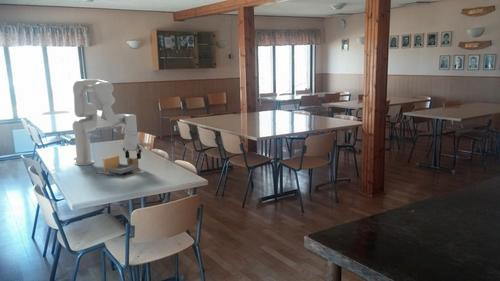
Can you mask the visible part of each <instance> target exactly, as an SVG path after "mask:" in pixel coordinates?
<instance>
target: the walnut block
mask: <svg viewBox="0 0 500 281" xmlns="http://www.w3.org/2000/svg"><path fill="white" fill-rule="evenodd" d="M126 162H127V163H126V164H127V165H135V169H134V170H136V169H139V159H137V157H135V156H134V157H133V156H132V157H129V158H126Z"/></svg>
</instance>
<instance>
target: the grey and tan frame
mask: <svg viewBox="0 0 500 281" xmlns="http://www.w3.org/2000/svg"><path fill="white" fill-rule="evenodd" d="M102 163H103V172H105V173H113V174H120V175H124V173H128V171H132V172H133V170H136V169H135V165H127V163H126V164H125V163H120V155H118V154H117V155H114V156H109V157H105V158H103V162H102Z"/></svg>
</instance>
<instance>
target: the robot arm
mask: <svg viewBox="0 0 500 281" xmlns="http://www.w3.org/2000/svg"><path fill="white" fill-rule="evenodd" d="M114 91H115V90H114V86H113V84H112V82H110V81H105V80H101V79H97V78H83V79H79V80H76V81H75V82H74V84H73V86H72V92H73V98H74V99H73V101H74V102H73V103H74V115H75V116H76V117H77V118H79V119H76V120H74V121H73V123H72V129H73V130H72V131H73V133H74V142H75V152H76V154H75V155H76V156H75V157H74V158H73V160H74V161H75V162H74V165H76V166H86V165H87V166H88V165H89V166H90V165H93V164H94V163H95V161H94V160H93V159H92V151H91V149H92V148H91V139H90V135H89V134H88V132H92V131H95V130H96V129H97V127H98V110H97V106H96V105H95V103H92V102H88V95H87V93H88V92H89V93H91V92H94V93H95V95H96V96H97V98H98V99H99V101H100V103H101V104H102V106H103V108H102V109H103V115H104V117H105V119H106V120H107V122H108V123H109V125H110V126H112V127H120V126H124V129H125V130H124V134H125V135H124V138H123V144H122V145H121V148H122V151H123V152H124V155H125V159H128V158H130V151H132V152H134V151H135V152H136V158H137V159H138V160H141V159H142V155H141V154H142V151H143V150H144V146H143V145H141V144H140V137H139V134H138V126H137V125H138V124H137V116H136V114H132V113H131V114H127V113H118V114H116V113H115V112H114V111H113V109H112V105H114V103H115V102H116V99H115V97H114V96H113V94H112V93H113V92H114Z"/></svg>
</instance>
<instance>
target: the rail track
mask: <svg viewBox="0 0 500 281" xmlns="http://www.w3.org/2000/svg"><path fill="white" fill-rule="evenodd" d="M127 173H129V174H136V173H137V172H136V171H133V170H132V171H128V172H127ZM96 174H102V175H109V176H115V177H127V175H126V174H122V175H120V174H119V173H109V172H104V171H96Z"/></svg>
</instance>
